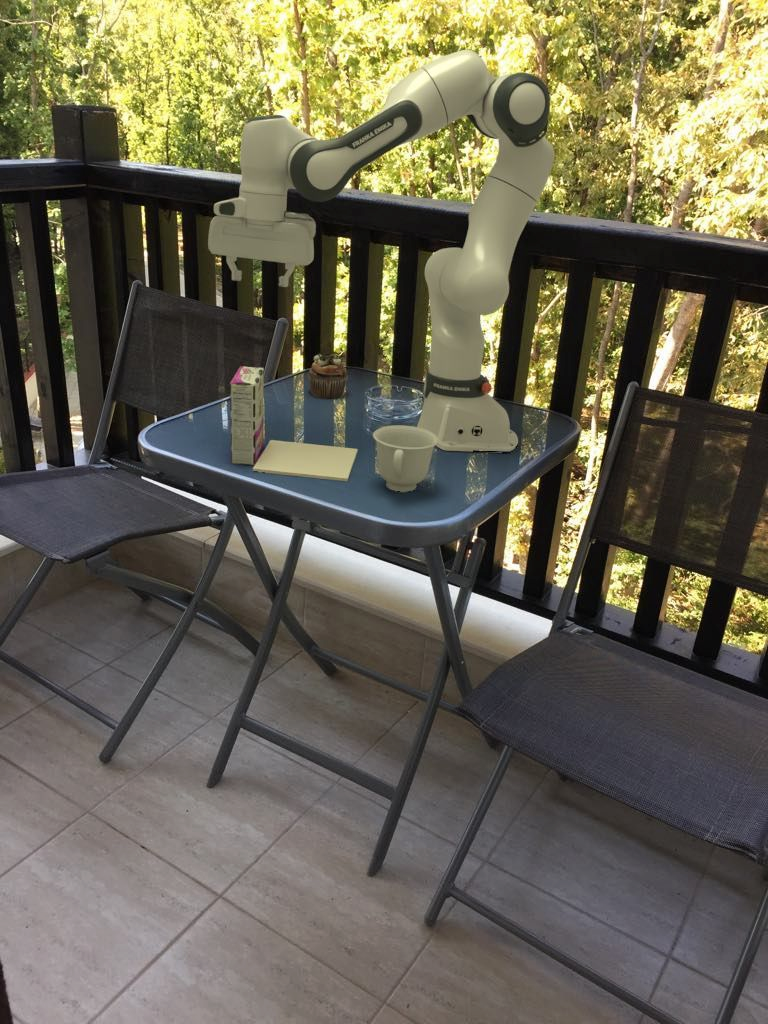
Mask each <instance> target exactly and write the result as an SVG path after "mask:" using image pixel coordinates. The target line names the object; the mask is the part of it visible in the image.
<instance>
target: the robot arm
mask: <svg viewBox="0 0 768 1024" xmlns="http://www.w3.org/2000/svg"><path fill="white" fill-rule="evenodd" d="M550 108H551V98H550V92H549V89H548V88H547V86H546V84H545V82H543V81H542V79H540V78H539V77H538V76H536V75H534V74H532V73H528V72H516V73H515V72H514V73H510V74H509V73H508V74H504V75H502V76H501V75H500V76H493V74H491V73H490V71H489V70H488V67H487V64H486V62H485V61H484V59H483V57H481V56H480V55H479V54H478V53H477V52H475V51H473V50H471V49H460V50H457V51H456V52H452V53H449V54H447V55H444V56H441V57H439V58H437V59H434V60H432V61H430V62H428V63H426V64H425V65H424V64H423V66H421V67H419V68H417V69H416V70H414V71H412V72H411V73H409V74H408V75H406V76H405V77H403V79H401V80H400V81H399V82H397V83H396V84H395V86H393V87H392V88H391V89H390V90H389V92H388V94H387V97H386V101H385V103H384V105H383V106H382V108H381V109H380V111H378V112H377V113H376V114H375V115H373V117H371V118H369V119H367V120H365V121H364V122H362V123H361V124H359V125H357V126H355V127H354V128H353V129H351V130H350V131H347V132H345V133H344V134H343V135H341V136H339V137H336V138H332V139H317V138H316V137H314V136H311V135H309V134H307V133H306V132H305V131H303V130H301V129H300V128H299V127H297V126H296V125H294V124H293V123H292V122H291V121H289V119H288V118H287V117H286V116H285V115H284V116H283V115H280V114H273V115H271V114H269V115H259V116H255V117H251V118H250V119H249V120H248V121H247V122H246V123H245V124H244V126H243V130H242V133H241V142H240V143H241V144H240V159H239V163H240V164H239V166H240V170H241V181H240V185H239V192H238V193H239V196H238V197H231V198H229V199H226V200H221V201H218V202H216V203H214V205H213V213H214V214H215V216H214V217H213V218H212V219H211V221H210V223H209V229H208V239H207V241H208V242H207V246H208V250H209V251H210V253H211V254H212V255H216V256H217V255H218V256H225V257H226V259H225V260H226V264H227V265H228V268H229V269H230V271H231V281H237V282H241V281H242V275H243V271H242V270H239V269H238V267H237V265H236V263H235V262H236V261H237V259H238V258H242V259H250V260H251V259H252V260H257V261H266V262H273V263H274V262H275V263H281V264H285V266H284V269H285V270H286V272H285V274H284V275H281V276H279V277H278V281H279V282H278V287H281V288H287V287H289V282H290V281H289V279H290V276H291V275H292V273H293V272H294V271H295V269H296V266H297V265H298V266H305V267H306V266H308V265H310V264H311V263H313V261H314V258H315V256H314V255H315V247H314V246H315V245H314V238H315V236H316V233H317V230H316V228H317V224H316V221H315V219H314V218H313V217H311V216H310V215H309V214H307V213H298V212H291V211H287V205H288V204H287V201H288V200H287V199H288V197H287V196H288V190H289V189H295V190H296V191H297V193H298V194H299V195H300V196H302V197H303V198H305V199H306V200H309V201H312V202H316V203H322V202H327V201H330V200H333V199H334V198H336V197H337V196H338V195H340V194H341V192H342V191H343V190H344V189H345V187H346V186H347V184H348V183H349V181H350V180H351V178H352V177H353V176H354V175H355V174H356V173H357V172H359V170H361V169H362V168H364V167H366V166H367V165H369V164H371V163H372V162H374V161H375V160H377V159H379V158H380V157H382V156H383V155H386V154H387V153H389V152H390V151H392V150H394V149H395V148H397V147H399V146H402V145H404V144H406V143H410V142H413V141H415V140H419V139H422V138H424V137H427V136H429V135H431V134H434V133H436V132H438V131H440V130H441V129H443V128H445V127H447V126H449V125H450V124H452V123H454V122H456V121H457V120H459V119H461V118H463V117H467V118H468V119H469V121H470V122H471V123H472V124H473V126H474V128H476V130H477V131H478V132H479V133H481V135H483V136H485V137H486V138H489V139H494V140H497V141H498V151H497V152H498V153H497V156H496V159H495V163H494V164H493V166H492V168H491V169H490V171H489V173H488V175H487V177H486V178H485V181H484V183H483V184H482V186H481V188H480V191H479V193H478V195H477V196H476V198H475V201H474V203H473V204H472V206H471V207H470V208H471V209H470V210H469V213H468V229H467V232H466V233H467V234H466V237H465V242H464V244H463V247H462V248H461V247H447V248H445V247H444V248H441V249H439V250H437V251H435V252H433V253H432V254H431V256H430V257H429V258H428V259H427V262H426V263H425V267H424V279H425V282H426V284H427V288H428V299H429V300H428V301H429V311H430V312H429V313H430V324H431V325H430V326H431V340H430V341H431V342H430V351H429V365H428V369H427V370H426V374H425V375H424V376H425V377H424V387H423V393H424V399H423V400H424V401H423V405H422V409H421V413H420V417H419V420H418V423H417V426H416V427H418V428H422V429H425V430H428V431H430V432H432V433H434V434H435V435H436V436H437V438H438V440H439V441H438V443H437V444H436V445H435V446H436V447H437V448H439V449H440V450H443V451H449V452H450V451H451V452H473V450H484V451H511V450H513V449H514V448H515V447H516V446H517V444H518V445H519V437H518V435H517V434H516V432H515V431H513V430H512V429H511V428H510V427H511V424H510V419H509V414H508V413H507V410H506V409H505V408H504V407H503V406H502V405H501V404H500V403H499V402H498V401H496V400H495V398H493V397H492V396H491V395H490V393H491V392H492V384H491V383H490V380H489V379H488V377H487V375H485V376H484V375H483V374H482V373H481V372H482V365H483V358H484V357H483V356H484V350H485V342H486V341H485V334H484V332H483V329H482V325H481V324H482V323H481V317H480V316H488V315H492V314H494V313H496V312H498V311H499V310H500V309H501V308H503V306H504V305H505V303H506V301H507V299H508V297H509V293H510V282H509V274H510V269H511V264H512V261H513V257H514V253H515V250H516V247H517V244H518V241H519V239H520V236H521V235H522V232H523V231H524V228H525V226H526V225H527V223H528V220H529V219H530V217H531V214H532V213H533V211H534V209H535V207H536V206H537V204H538V203H539V199H541V196H542V193H543V192H544V189H545V188H546V185H547V182H548V180H549V177H550V175H551V171H552V168H553V165H554V163H555V155H556V154H555V153H556V152H555V149H554V146H553V145H552V144H551V142H550V141H549V140H548V139H547V138H546V137H545V136H546V134H547V132H548V128H549V127H548V126H549V125H548V123H549V122H548V121H549V114H550ZM542 132H543V133H542ZM510 432H511V433H510ZM511 445H513V446H511Z"/></svg>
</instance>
